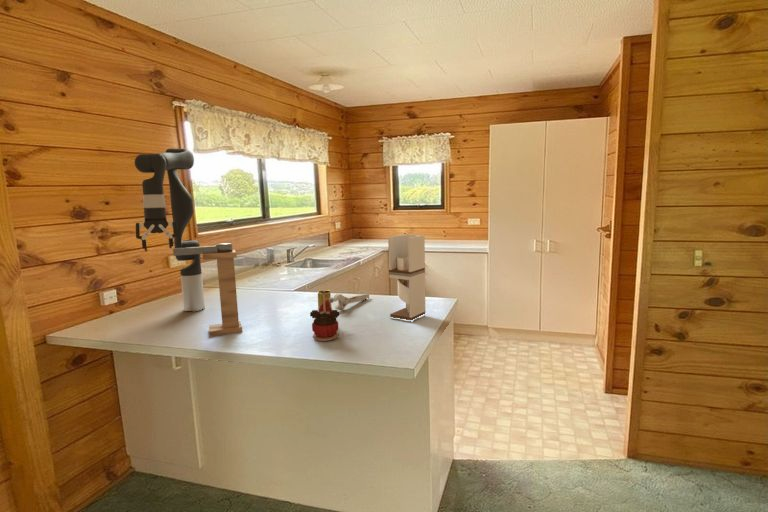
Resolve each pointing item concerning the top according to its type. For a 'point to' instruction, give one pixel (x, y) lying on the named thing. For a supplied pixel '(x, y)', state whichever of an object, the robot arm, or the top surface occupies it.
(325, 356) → the top surface
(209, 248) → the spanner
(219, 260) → the shelf stand
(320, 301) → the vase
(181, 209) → the robot arm
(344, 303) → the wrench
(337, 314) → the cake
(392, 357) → the top surface
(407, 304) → the beige cubby tower
